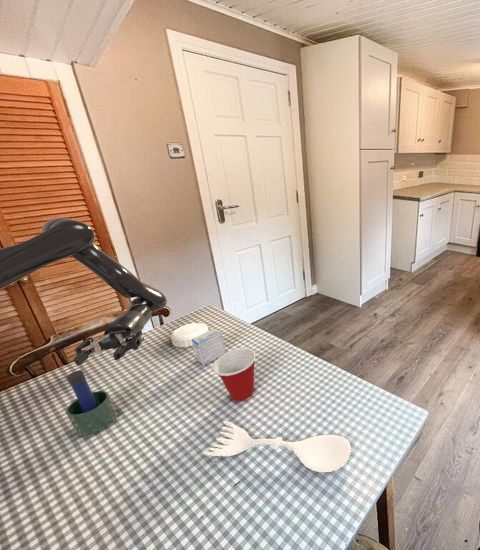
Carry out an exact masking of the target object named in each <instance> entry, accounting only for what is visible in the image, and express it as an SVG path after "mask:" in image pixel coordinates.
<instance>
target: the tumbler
mask: <svg viewBox="0 0 480 550" xmlns="http://www.w3.org/2000/svg"><path fill="white" fill-rule="evenodd" d="M91 392H92V395H93V397H94V399H95V401H96V403H97V406H98V407H96V408H94V409H92V410H91V411H88V412H85V413H84V411H83V409H82V407H81V405H80V403H79V401H78V399H77V398H76V399H75V400H74V401H72V402H71V403H70V404H68V406H67V407H66V409H65V415H66V417H67V418H68V420H69V422H70V424H71V426H72V428H73V430H74V432H75V434H76V435H77V436H80V437H88V436H93V435H96V434H98V433H100V432H101V431H102V432H103V431H104V430H105V429H107V428H108V427H109V426H110V425H112V424H114V422H115V420H116V419H117V415H118V412H117V410H116V407H115V405H114V403H113V400H112V398H111V396H110V393H109V392H107V391H105V390H97V391H91Z"/></svg>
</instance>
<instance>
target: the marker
mask: <svg viewBox="0 0 480 550" xmlns="http://www.w3.org/2000/svg"><path fill="white" fill-rule="evenodd" d="M66 379H67V381H68V384H69V386H71V388H72V390H73V393H74V395H75V396H76V399H78V401H79V403H80V405H81V407H82V409H83V411H84V413H85V412H88V411H91V410H92V409H94V408H96V407H98V406H97V403H96V401H95V399H94V397H93V395H92V392H93V391H92V389H91V388H90V386H89V383H88V382H87V377H86V375H85V373H84V371H83V370H76V371H75V370H74V371H73V372H71V373H70V374H68V375H67V376H66Z"/></svg>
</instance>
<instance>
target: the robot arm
mask: <svg viewBox="0 0 480 550" xmlns="http://www.w3.org/2000/svg"><path fill="white" fill-rule="evenodd" d="M95 236H96V235H95V232H94V230H93V228H92V227H91V226H90V225H88V224H87V223H85V222H83V221H81V220H77V219H74V218H69V217H54V218H51V219H49V220H47V221H46V222H44V224H43V225H42V227H41V233H39V234H37V235H35V236H33V237H32V238H28V239H27V240H25V241H22V242H20V243H17V244H13V245H10V246H5V247H2V248H0V291H1V290H3V289H5V288H6V287H8V286H10V285H12V284H15V283H16V282H18V281H20V280H23V279H24V278H25V277H28V276H29V275H31V274H33V273H35V272H36V271H39V270H40V269H42V268H44V267H46V266H49V265H51V264H53V263H55V262H58V261H61V260H64V259H66V258H69V257H71V258H73V259H75V260H76V261H78V262H79V263H80V264H82V265H83V266H85V267H86V268H87V269H88V270H90V271H91V272H92V273H93V274H94V275H96V276H97V277H98V278H99V279H100V280H101V281H103V282H104V283H105V284H106V285H108V287H110V288H111V289H112V290H113V291H114V292H116V293H118V294H119V296H121V297H122V298H125V299H132V298H134V299H132V300H131V301H129V304H128V307H127V309H125V311H124V312H123V313H122V314H120V315H119V316H117V318H115V319H114V320H113V321H112V322H111V323H110V324H109V325H108V326H107V327H106V328H105V329H104V331H103V335H102V336H100V337H98V338H96V339H94V338H93V337H92V336H90V337H87V338H86V339H84V340H83V341H82V342H81V343H80V344H79V345H77V346H76V347H75V348H74V351H75V353H76V355H75V357H74V358H73V360H74V363H75V364H76V366H81V365H83V364H84V363H85V362H86V361H87V360H88V358H89V357H91V356H93V355H95V354H96V355H98V354H101V353H103V352H105V351H108V350H115V349H116V350H115V351H114V352H113V353H112V356H113V359H114V361H120V359H121V358H123V357H124V356H125V355H126V354H127V353H128V352H130V351H131V350H133V351H136V350H138V349H139V348H140V346H141V345H142V343H143V342H144V340H145V336H144V333H143V329H144V327H145V326H146V325H147V323H149V321H150V320H151V317H152V315H153V313H155V312H158V311H160V310H162V309H164V308H165V307H166V306H167V303H168V299H167V297H166V295H165V294H164V293H163V292H162V291H160V290H159V289H157V288H155V287H153V286H151V285H149V284H147V283H146V282H143V281H141V280H140V279H139V278H138V277H137V276H136V275H135V274H133V272H132V271H130V270H129V269H127V267H125V266H124V265H122V264H121V263H120V262H118V261H116V260H115V259H114V258H112V257H110V256H109V255H108V254H107V253H105V252H104V251H103V250H102V249H100V247H98V246H97V245H96V244H95V242H94V241H95ZM98 345H99V347H100V348H99V347H98ZM91 349H92V350H91Z"/></svg>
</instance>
